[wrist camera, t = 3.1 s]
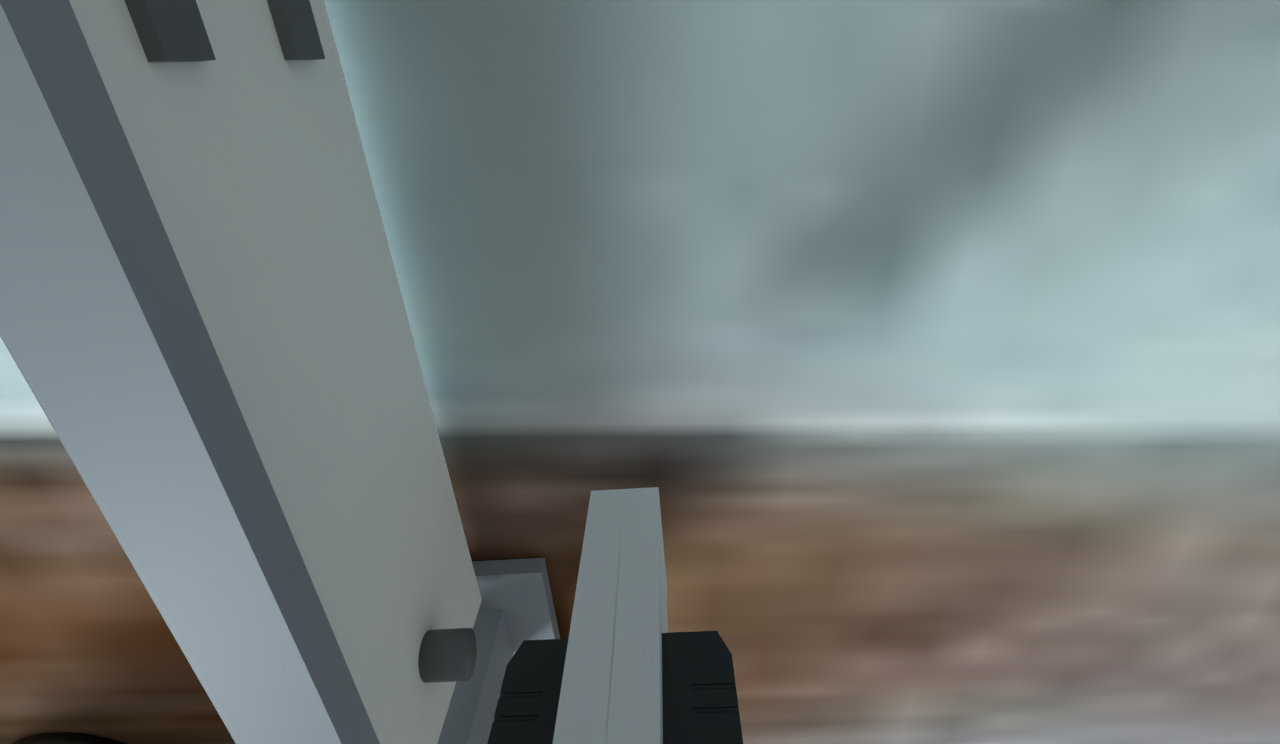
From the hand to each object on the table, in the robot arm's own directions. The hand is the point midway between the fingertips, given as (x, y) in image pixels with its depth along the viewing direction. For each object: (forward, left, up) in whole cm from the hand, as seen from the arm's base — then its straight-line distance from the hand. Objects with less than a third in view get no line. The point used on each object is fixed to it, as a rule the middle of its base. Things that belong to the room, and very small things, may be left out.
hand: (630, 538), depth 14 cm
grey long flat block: (-4, -7, -6) cm, 10 cm away
